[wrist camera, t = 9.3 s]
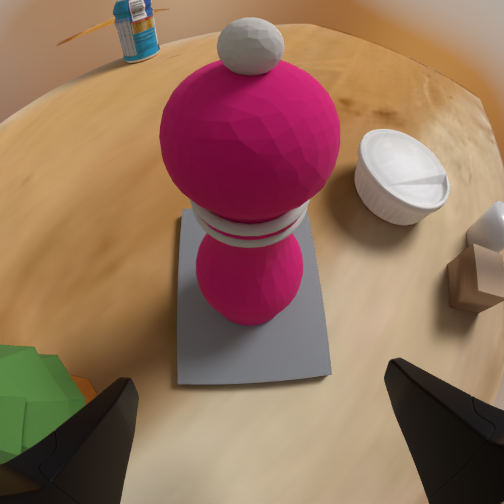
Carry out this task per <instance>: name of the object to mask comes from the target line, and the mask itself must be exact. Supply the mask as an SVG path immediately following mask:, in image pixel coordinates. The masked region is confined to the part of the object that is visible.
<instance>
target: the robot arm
mask: <svg viewBox="0 0 504 504" xmlns="http://www.w3.org/2000/svg"><path fill="white" fill-rule="evenodd" d="M384 381H385V385H386V388H387V391H388V394H389V397H390V401H391V404H392V407H393V411H394V414H395V416H396V419H397V421H398V423H399V426H400V428H401V431H402V433H403V435H404V438H405V440H406V443H407V445H408V448H409V450H410V453H411V455H412V458H413V460H414V463H415V465H416V468H417V471H418V473H419V476H420V479H421V481H422V484H423V487H424V490H425V493H426V496H427V498H428V502H429V504H504V410H501V409H499V408H496V407H494V406H491V405H489V404H487V403H485V402H483V401H481V400H479V399H477V398H475V397H473V396H472V397H471V395H469V394H467V393H465V392H463V391H462V390H460V389H458V388H456V387H454V386H452V385H450V384H448V383H447V382H445V381H443V380H441V379H439V378H437V377H435V376H433V375H432V374H430V373H428V372H426V371H424V370H422V369H421V368H419V367H417V366H415V365H413V364H411V363H410V362H408V361H406V360H404V359H402V358H395V359H391V360H390V361H389V363H388V366H387V369H386V372H385V376H384ZM138 400H139V397H138V392H137V390H136V388H135V385H134V383H133V381H132V379H131V378H126V377H120V378H118V379H117V380H116V381H115V382H113V383H112V384H111V385H110V386H108V387H107V388H106V389H105V390H104V391H102V392H101V393H100V394H99V395H97V396H96V397H95V398H94V399H92V400H91V401H90V402H89V403H88V404H86V405H85V406H84V407H83V408H81V409H80V410H79V411H78V412H76V413H75V414H74V415H73V416H71V417H70V418H69V419H68V420H66V421H65V422H64V423H63V424H61V425H60V426H59V427H58V428H56V431H55V430H54V431H53V432H51V433H50V434H49V435H48V436H46V437H45V438H44V439H42V440H41V441H40V442H38V443H37V444H35V445H34V446H32V447H31V448H29V449H27V450H26V451H24V452H22V453H21V454H19V455H18V456H16V457H14V458H13V459H11V460H9V461H7V462H5V463H3V464H0V504H120V501H121V496H122V490H123V485H124V480H125V475H126V470H127V465H128V461H129V456H130V452H131V447H132V443H133V438H134V433H135V425H136V416H137V408H138Z"/></svg>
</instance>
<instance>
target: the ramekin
mask: <svg viewBox="0 0 504 504" xmlns="http://www.w3.org/2000/svg"><path fill="white" fill-rule="evenodd" d="M354 180H355V186H356V189H357V192H358V194H359V196H360V198H361V199H362V201H363V202H364V204H365V205H366V206H367V207H368V208H369V210H371V211H372V212H373V213H374V214H375V215H377V216H378V217H380V218H381V219H383V220H385V221H387V222H390V223H393V224H397V225H411V224H415V223H417V222H419V221H421V220H422V219H423V218H425V217H426V216H428V215H429V214H430V213H432V212H435V211H437V210H439V209H440V208H441V207H442V206H443V205H444V204H445V202H446V201H447V199H448V196H449V188H450V187H449V181H448V177H447V174H446V172H445V170H444V168H443V166H442V164H441V163H440V161H439V160H438V159H437V158H436V156H435V155H434V154H433V153H432V152H431V151H430V150H429V149H428V148H427V147H425V146H424V145H423V144H422V143H420V142H419V141H417V140H416V139H414V138H412V137H411V136H409V135H406V134H404V133H401V132H398V131H395V130H390V129H377V130H373V131H370V132H368V133H367V134H365V135H364V137H363V138H362V140H361V142H360V144H359V147H358V160H357V165H356V171H355V178H354Z"/></svg>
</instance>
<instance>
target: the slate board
mask: <svg viewBox="0 0 504 504" xmlns="http://www.w3.org/2000/svg"><path fill="white" fill-rule="evenodd" d="M206 234H207V232H206V231H205V230H204V229H203V228H202V227H201V226H200V224H199V223H198V221H197V220H196V218H195V216H194V213H193V209H182V220H181V234H180V249H179V268H178V295H177V376H178V384H242V383H260V382H273V381H284V380H294V379H303V378H311V377H318V376H325V375H332V371H331V362H330V353H329V344H328V336H327V328H326V320H325V313H324V305H323V299H322V292H321V285H320V279H319V273H318V266H317V261H316V255H315V249H314V243H313V238H312V232H311V227H310V222H309V217H308V212H307V211H306V214H305V216H304V218H303V220H302V222H301V224H300V225H299V227H298V228H297V229H296V230H295V231H294V232H293V235H294V236H295V238H296V239H297V241H298V243H299V246H300V248H301V253H302V258H303V275H302V279H301V284H300V287H299V290H298V292H297V294H296V296H295V298H294V299H293V300H292V302H291V303H290V304H289V305H288V306H287V307H286V308H285V309H284V310H283V311H281V312H280V313H278V314H277V315H276V316H275V317H274V318H273V319H271V320H269V321H267V322H265V323H263V324H260V325H254V326H244V325H240V324H236V323H234V322H232V321H229V320H228V319H227V318H225V317H224V316H223V315H222V314H221V313H219V312H218V311H217V310H215V309H214V308H213V307H212V306H211V305H210V304H209V303H208V302H207V300H206V299H205V298H204V296H203V294H202V292H201V290H200V287H199V284H198V280H197V276H196V258H197V253H198V249H199V246H200V244H201V241H202V239H203V238H204V236H205V235H206Z"/></svg>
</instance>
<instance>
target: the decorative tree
mask: <svg viewBox="0 0 504 504" xmlns="http://www.w3.org/2000/svg"><path fill="white" fill-rule="evenodd" d="M96 396H97V394H96V392H95V390H94V388H93V387H92V385H91V383H90V381H89V379H85V378H81V377H77V376H73V375H69V373H68V372H67V370H66V369H65V367H64V365H63V364H62V362H61V361H60V359H59V357H58V356H57V355H42V354H38V353H37V351H36V349H35V347H29V346H11V345H0V464H3V463H5V462H7V461H9V460H11V459H13V458H14V457H16V456H18V455H19V454H21V453H22V452H24V451H26V450H27V449H29V448H31V447H32V446H34V445H35V444H37V443H38V442H40V441H41V440H42V439H44V438H45V437H46V436H48V435H49V434H50V433H51V432H53V431H54V430H55V431H56V428H58V427H59V426H60V425H61V424H63V423H64V422H65V421H66V420H68V419H69V418H70V417H71V416H73V415H74V414H75V413H76V412H78V411H79V410H80V409H81V408H83V407H84V406H85V405H86V404H88V403H89V402H90V401H91V400H92V399H94V398H95V397H96Z"/></svg>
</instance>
